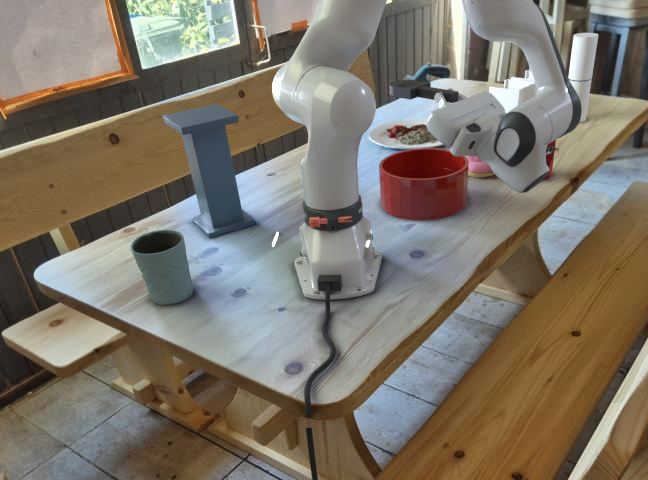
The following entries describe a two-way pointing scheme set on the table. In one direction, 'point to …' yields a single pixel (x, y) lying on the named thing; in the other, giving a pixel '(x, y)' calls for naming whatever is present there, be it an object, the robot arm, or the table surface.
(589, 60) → the cylindrical container
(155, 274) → the green cup
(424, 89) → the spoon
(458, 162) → the pot
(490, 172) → the doughnut
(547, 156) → the canned food
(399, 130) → the plated food
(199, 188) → the stand
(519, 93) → the storage container
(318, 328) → the table surface
